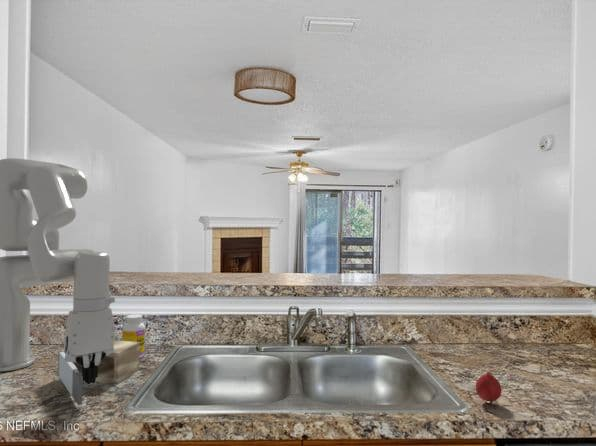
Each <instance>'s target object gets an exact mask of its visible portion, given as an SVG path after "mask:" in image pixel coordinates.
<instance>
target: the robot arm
mask: <svg viewBox="0 0 596 446" xmlns="http://www.w3.org/2000/svg"><path fill="white" fill-rule="evenodd" d="M25 190H26V191H29V195H30V196H29V195H28V193H26V191H25ZM87 191H88V179H87V178H86V176H85V174H84V173H83V172H82V171H81V170H79V169H77V168H74V167H71V166H68V165H64V164H62V163H61V164H60V163H56V162H49V161H48V162H47V161H38V160H32V159H26V158H14V157H13V158H12V157H11V158H9V157H8V158H2V159H0V250H2V251H4V252H26V251H27V253H28V254H22V255H21V254H19V255H17V254H16V255H5V256H0V373H1V372H10V371H15V370H20V369H23V368H26V367H28V366H31V365H33V364H34V363H35V362H36V356H35V355H33V354H30V332H31V331H30V328H31V326H30V325H31V301H30V299H29V297H28V296H27V295H26V294H25V293H24V292H23V291H22V289H24V288H31V287H39V286H48V285H51V284H52V283H58V282H68V281H73V297H72V299H73V300H72V301H73V303H72V304H73V305H72V306H73V307H72V310H70V311H69V312H68V314H67V320H66V323H65V325H66V326H65V333H64V340H63V342H64V343H63V349H64V350H63V351H64V353H65V352H66V355H65V361H67V362H78V363H79V364H80V365H82V376H83V382H84V383H85V384H87V385H89V386H90V385H91V384H96V382H97V381H96V378H97V377H98V365H99V364H100V362H101V360H102V359H103V358H104V357H105V356H106V355H109V354H111V353H113V352H114V343H115V340H116V335H115V331H116V330H115V323H114V322H115V321H114V316H113V311H112V308H111V306H110V305H111V304H113V303H115V301H116V299H115V297H114V296H112V297H111V296H110V269H111V267H110V261H111V260H110V255H109V254H108V253H106V252H104V251H94V250H92V249H89V248H83V249H82V248H79V249H78V248H77V249H73V248H71V249H60V231H59V229H61V228H63V227H65V226H67V225H69V224H71V223H72V222H74V220H75V218H76V216H77V211H76V207H74V203H73V201H72V199H73V200H74V199H77V200H78V199H81V198H84V197H85V195H86V194H87ZM33 209H35V212H36V214H37V217H38V218H33ZM88 354H92V356H91V361H90V363H89V358H88Z"/></svg>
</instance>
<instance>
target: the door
mask: <svg viewBox="0 0 596 446" xmlns="http://www.w3.org/2000/svg"><path fill="white" fill-rule="evenodd" d="M65 355H66V354H65V350H59V351H58V358H57V362H58V363H57V364H58V365H57V376H58V378H59V379H60V380H61V383H63V385H64V387H65V388H66V390H67V391H68V392H69V394H70V396H71V397H72V398H73V400H74V401H75V403H76V404H77V406H81V405H83V389H84V388H83V386H84V385H83V382H84V381H83V376H82V375H81V373H80V372H79V371H78V370H77V368H76V366H75V365H74V364H73V363H72V362H67V361H65Z"/></svg>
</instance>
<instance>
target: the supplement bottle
mask: <svg viewBox="0 0 596 446" xmlns="http://www.w3.org/2000/svg"><path fill="white" fill-rule="evenodd" d="M125 321H126V323H125V324H123V326H122V330H121V332H122V333H121V341H130V342H140V347H139V359H142V358H143V357H144V356H145V346H146V345H145V342H146V341H145V340H146V325H145V324H144V323H143V322H142V321H143V315H142V314H137V313H136V314H128V315H126V317H125Z"/></svg>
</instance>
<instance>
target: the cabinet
mask: <svg viewBox="0 0 596 446" xmlns="http://www.w3.org/2000/svg"><path fill="white" fill-rule="evenodd" d="M139 347H140V342H130V341H122V340H117V339H115V343H114V352H113V353H111V354H109V355H106V356H105V357H104V358H103V359H102V360H101V362H100V364H99V365H98V377H97V378H96V382H98V383H99V382H100V383H111V384H119V383H122V382H123V381H125V380H126V379H127V378H129V377H131V376H132V375H134V374H135V373H137V372H138V371H140V358H139ZM64 353H65V354H66V352H65V351H64ZM91 356H92V354H88V358H89V363H90V361H91ZM72 363H73V364H74V365H75V366H76V368H77V370H78V371H79V372H80V373H81V375H82V365H80V364H79V363H78V362H72Z"/></svg>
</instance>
